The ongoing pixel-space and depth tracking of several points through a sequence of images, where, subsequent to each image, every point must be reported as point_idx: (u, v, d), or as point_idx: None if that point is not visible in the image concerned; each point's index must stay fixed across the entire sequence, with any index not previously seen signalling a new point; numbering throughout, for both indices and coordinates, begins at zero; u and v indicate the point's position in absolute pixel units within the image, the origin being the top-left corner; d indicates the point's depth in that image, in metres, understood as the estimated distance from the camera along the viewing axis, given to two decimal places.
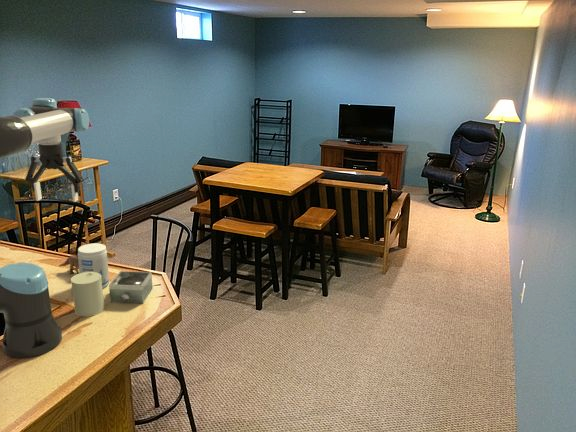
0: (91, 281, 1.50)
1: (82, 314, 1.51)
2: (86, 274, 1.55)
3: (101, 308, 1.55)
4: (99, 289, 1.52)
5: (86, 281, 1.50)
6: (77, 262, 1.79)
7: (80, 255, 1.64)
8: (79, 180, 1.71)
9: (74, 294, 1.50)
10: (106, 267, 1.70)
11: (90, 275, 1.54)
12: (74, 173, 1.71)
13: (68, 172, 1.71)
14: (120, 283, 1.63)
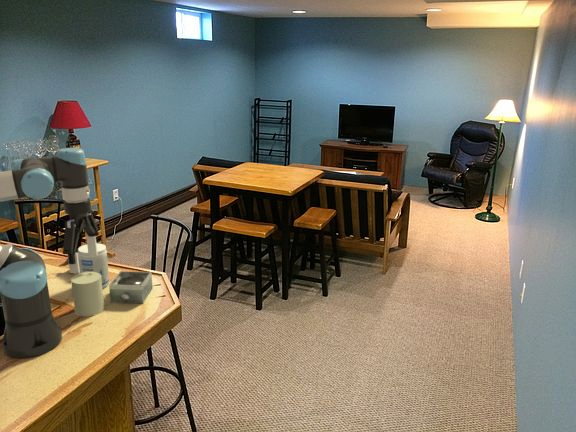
0: (91, 281, 1.50)
1: (82, 314, 1.51)
2: (86, 274, 1.55)
3: (101, 308, 1.55)
4: (99, 289, 1.52)
5: (86, 281, 1.50)
6: None
7: (80, 255, 1.64)
8: None
9: (74, 294, 1.50)
10: (106, 267, 1.70)
11: (90, 275, 1.54)
12: None
13: None
14: (120, 283, 1.63)
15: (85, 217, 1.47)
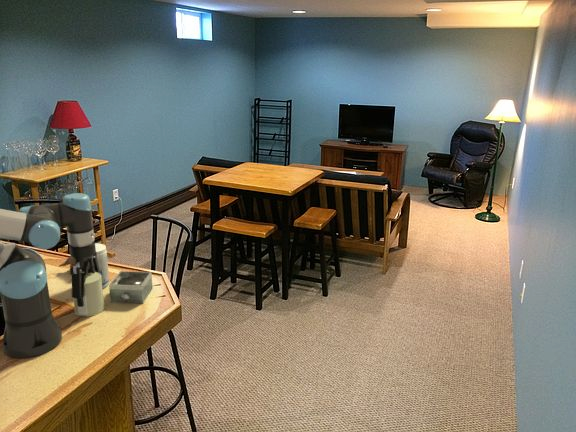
0: (91, 281, 1.50)
1: None
2: None
3: (101, 308, 1.55)
4: (99, 289, 1.52)
5: (86, 281, 1.50)
6: None
7: None
8: None
9: None
10: (106, 267, 1.70)
11: (90, 275, 1.54)
12: None
13: None
14: (120, 283, 1.63)
15: (90, 259, 1.51)
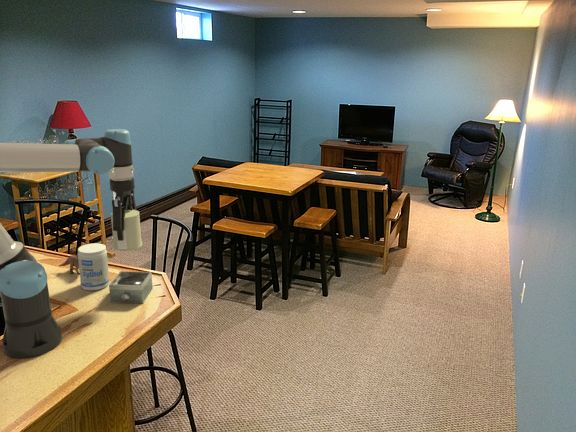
0: (130, 216, 1.54)
1: (121, 249, 1.55)
2: (125, 211, 1.58)
3: (139, 244, 1.59)
4: (137, 224, 1.56)
5: (126, 216, 1.54)
6: (77, 262, 1.79)
7: (80, 255, 1.64)
8: (113, 228, 1.50)
9: None
10: (106, 267, 1.70)
11: (128, 212, 1.58)
12: None
13: None
14: (120, 283, 1.63)
15: (129, 195, 1.55)
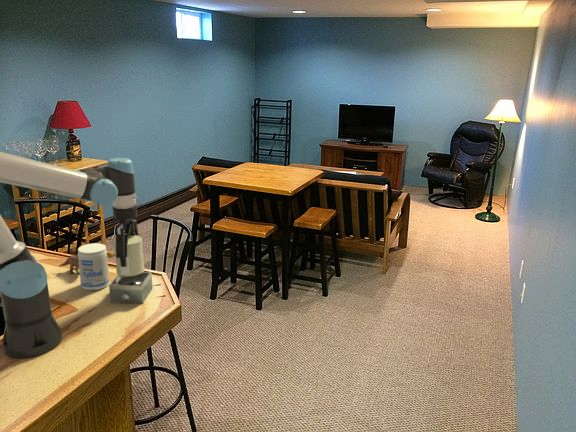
0: (133, 242, 1.57)
1: None
2: None
3: (142, 269, 1.62)
4: (140, 250, 1.59)
5: (128, 243, 1.57)
6: (77, 262, 1.79)
7: (80, 255, 1.64)
8: None
9: None
10: (106, 267, 1.70)
11: (131, 238, 1.61)
12: None
13: None
14: (120, 283, 1.63)
15: (131, 221, 1.58)
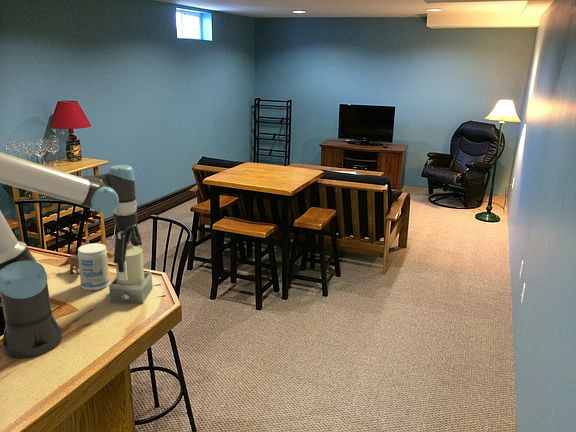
0: (134, 254, 1.58)
1: None
2: (128, 248, 1.63)
3: (142, 280, 1.63)
4: (140, 262, 1.60)
5: (129, 254, 1.58)
6: (77, 262, 1.79)
7: (80, 255, 1.64)
8: (114, 260, 1.51)
9: None
10: (106, 267, 1.70)
11: (132, 249, 1.62)
12: None
13: None
14: None
15: (132, 228, 1.59)
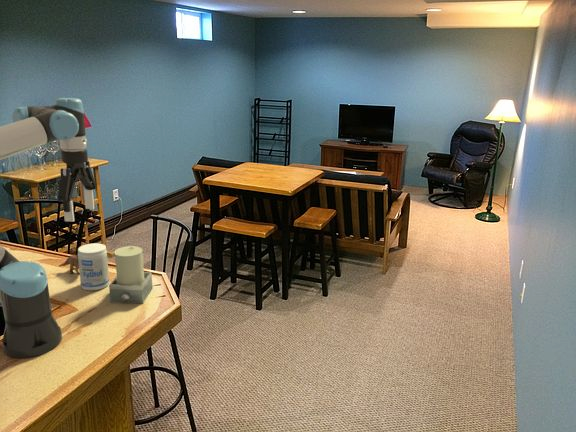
0: (134, 254, 1.58)
1: None
2: (128, 248, 1.63)
3: (142, 280, 1.63)
4: (140, 262, 1.60)
5: (129, 254, 1.58)
6: (77, 262, 1.79)
7: (80, 255, 1.64)
8: (58, 198, 1.42)
9: (118, 267, 1.58)
10: (106, 267, 1.70)
11: (132, 249, 1.62)
12: None
13: None
14: None
15: (82, 168, 1.50)
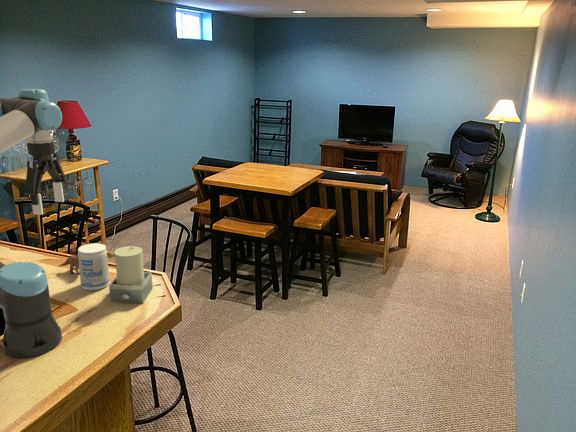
0: (134, 254, 1.58)
1: None
2: (128, 248, 1.63)
3: (142, 280, 1.63)
4: (140, 262, 1.60)
5: (129, 254, 1.58)
6: (77, 262, 1.79)
7: (80, 255, 1.64)
8: None
9: (118, 267, 1.58)
10: (106, 267, 1.70)
11: (132, 249, 1.62)
12: None
13: None
14: None
15: (49, 160, 1.48)
